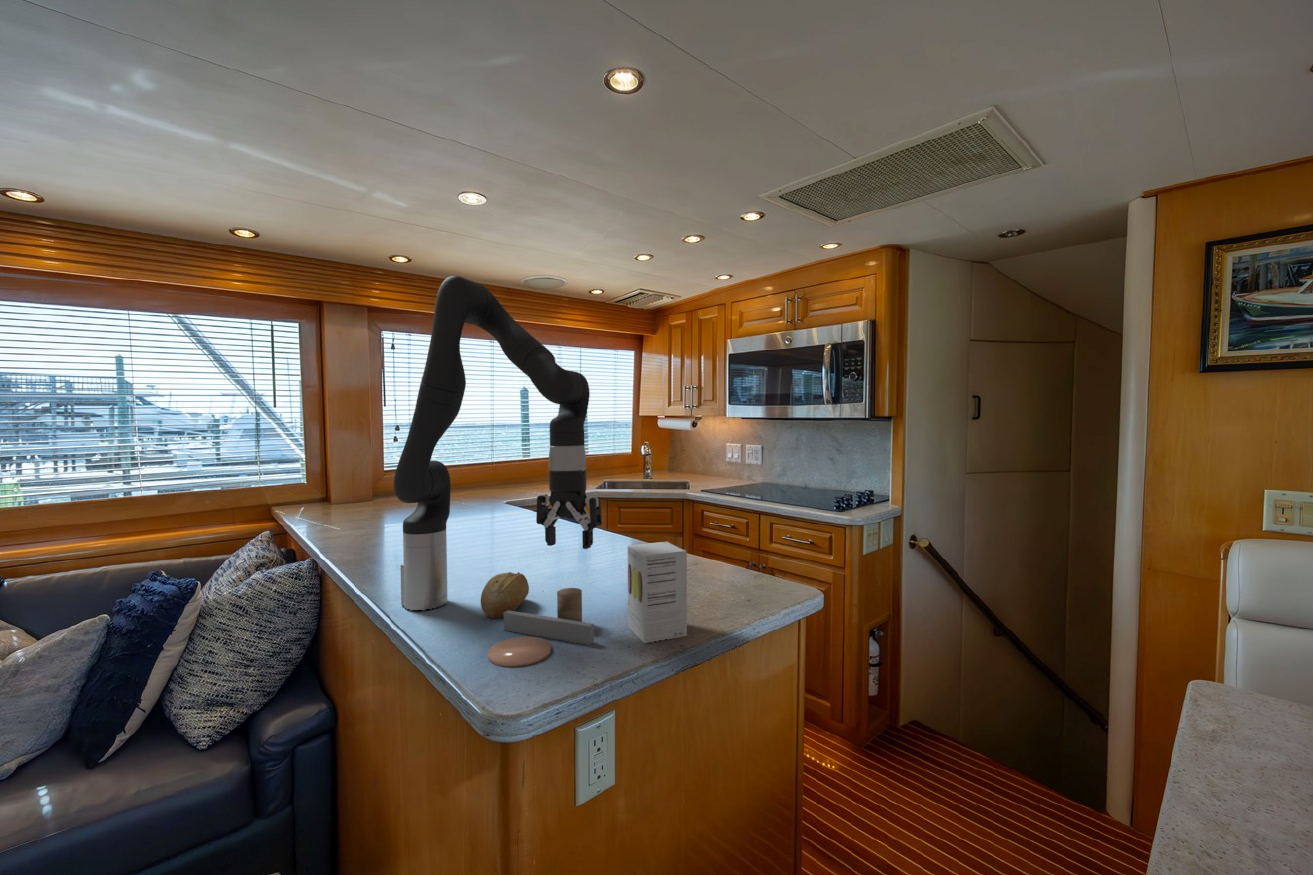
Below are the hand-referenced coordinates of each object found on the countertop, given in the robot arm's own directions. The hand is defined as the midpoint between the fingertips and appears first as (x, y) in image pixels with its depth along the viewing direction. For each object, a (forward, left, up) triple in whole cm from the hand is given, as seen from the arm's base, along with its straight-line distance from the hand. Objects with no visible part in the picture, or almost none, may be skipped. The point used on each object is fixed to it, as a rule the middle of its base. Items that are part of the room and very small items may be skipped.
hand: (569, 546), depth 109 cm
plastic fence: (-1, -7, -16) cm, 17 cm away
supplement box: (+18, +3, -17) cm, 25 cm away
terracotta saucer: (-1, -15, -16) cm, 22 cm away
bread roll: (-19, +3, -17) cm, 26 cm away
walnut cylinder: (0, 0, -16) cm, 16 cm away
